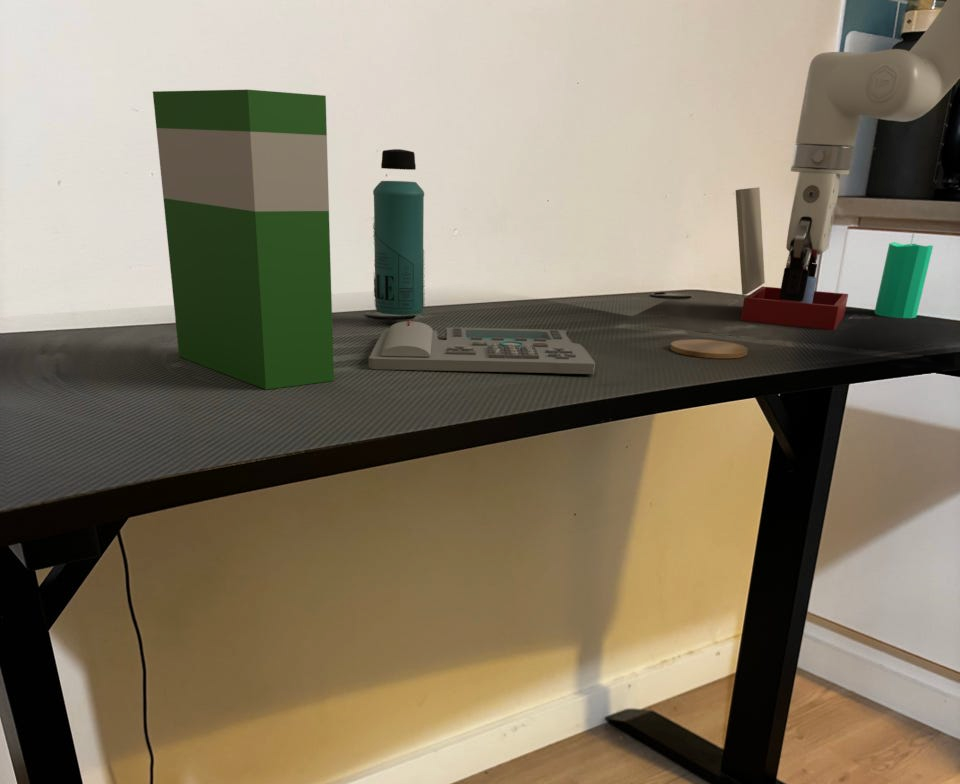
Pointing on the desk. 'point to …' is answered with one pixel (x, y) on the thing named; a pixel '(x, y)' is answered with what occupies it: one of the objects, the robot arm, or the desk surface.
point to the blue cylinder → (808, 290)
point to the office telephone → (479, 350)
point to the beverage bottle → (398, 240)
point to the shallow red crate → (794, 309)
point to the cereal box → (249, 232)
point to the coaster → (709, 349)
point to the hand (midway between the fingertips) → (795, 296)
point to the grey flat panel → (750, 238)
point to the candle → (903, 280)
